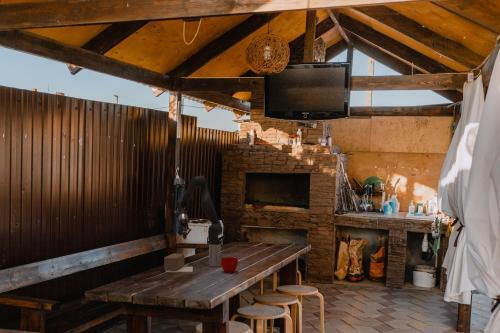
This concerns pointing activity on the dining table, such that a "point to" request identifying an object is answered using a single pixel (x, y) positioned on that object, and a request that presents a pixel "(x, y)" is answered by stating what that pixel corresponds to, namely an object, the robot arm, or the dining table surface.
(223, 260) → the ceramic cup
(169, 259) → the wooden block
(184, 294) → the dining table surface
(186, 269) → the pale grey mat
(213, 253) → the robot arm
